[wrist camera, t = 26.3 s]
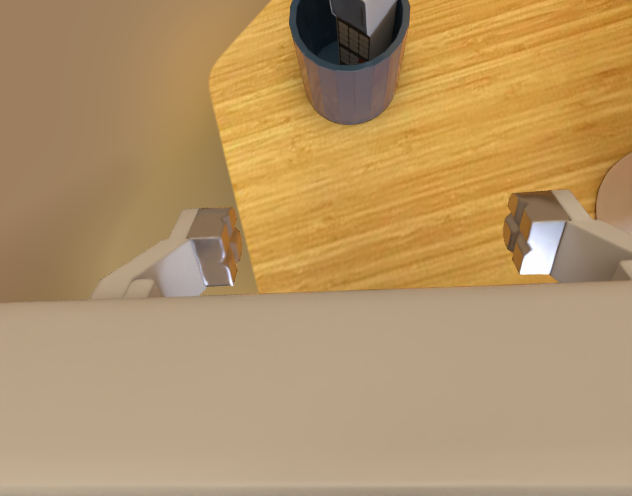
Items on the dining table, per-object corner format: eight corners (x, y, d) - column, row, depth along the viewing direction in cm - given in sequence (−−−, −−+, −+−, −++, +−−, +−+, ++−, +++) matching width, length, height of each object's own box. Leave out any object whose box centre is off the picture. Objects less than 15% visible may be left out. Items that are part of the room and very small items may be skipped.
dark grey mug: (415, 92, 50) (433, 28, 39) (336, 142, 51) (329, 94, 39) (349, -1, 52) (347, -90, 41) (273, 47, 53) (249, -26, 41)
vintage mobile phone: (335, 83, 51) (314, -125, 26) (360, 47, 51) (364, -193, 26) (363, 100, 50) (369, -95, 25) (388, 64, 50) (419, -165, 25)
